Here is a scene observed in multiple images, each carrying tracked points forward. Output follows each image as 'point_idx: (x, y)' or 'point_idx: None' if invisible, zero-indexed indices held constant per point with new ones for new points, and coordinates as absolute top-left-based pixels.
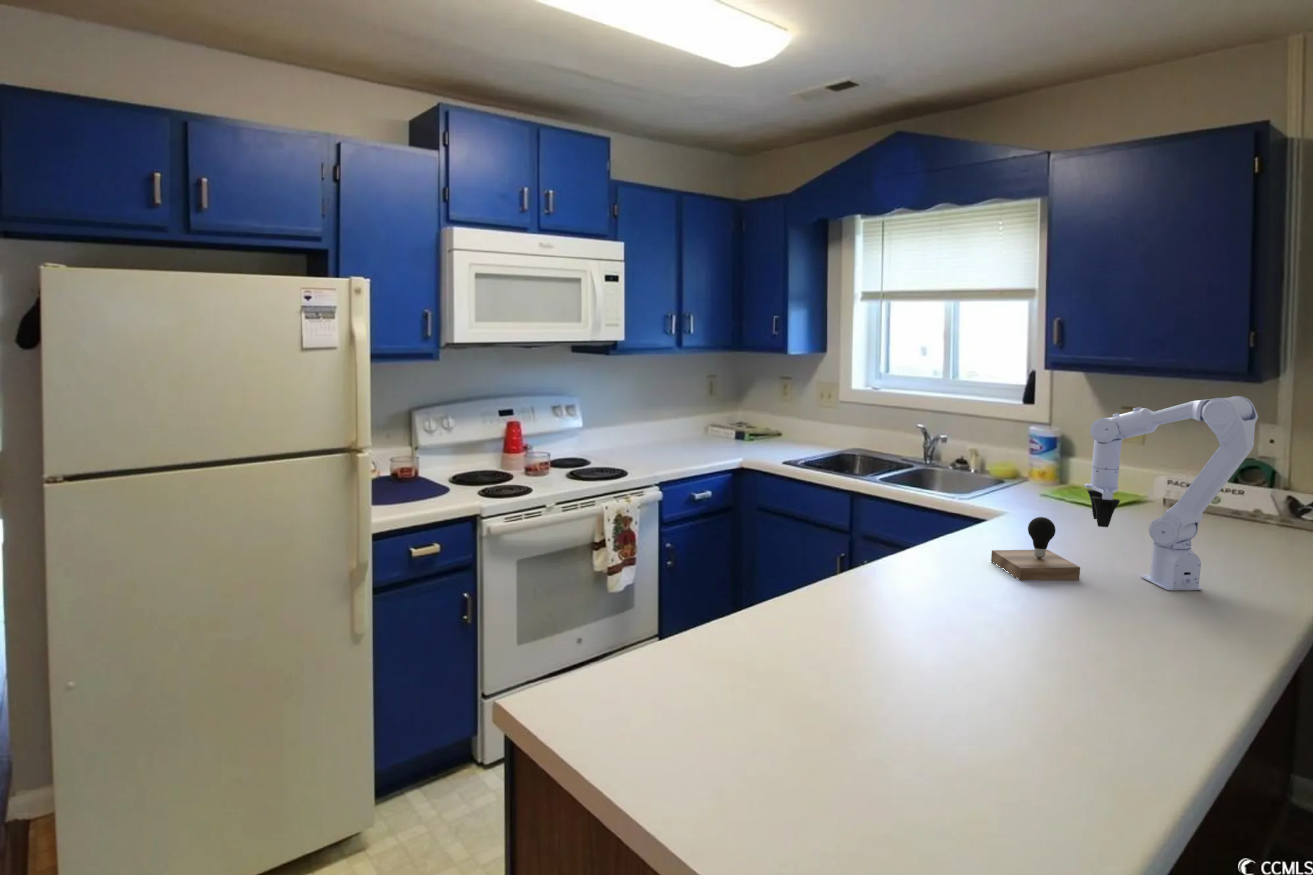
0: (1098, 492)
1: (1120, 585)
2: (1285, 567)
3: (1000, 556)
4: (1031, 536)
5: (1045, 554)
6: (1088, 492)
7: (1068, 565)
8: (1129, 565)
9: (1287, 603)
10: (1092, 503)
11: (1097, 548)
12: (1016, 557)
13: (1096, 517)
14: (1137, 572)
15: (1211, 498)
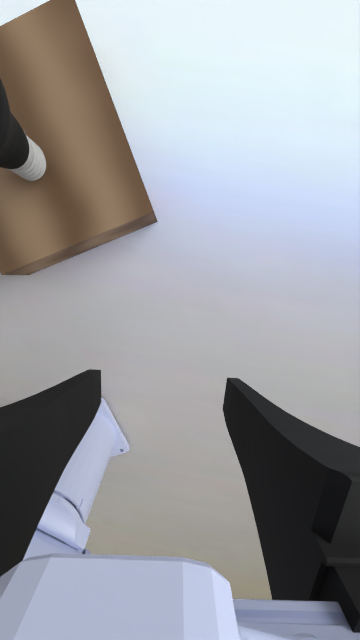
0: (308, 550)
1: (29, 350)
2: (245, 590)
3: (13, 24)
4: None
5: (24, 178)
6: (324, 466)
7: (3, 245)
8: (184, 394)
9: None
10: (261, 417)
11: (305, 360)
12: (14, 85)
13: (227, 390)
14: (138, 397)
15: None
